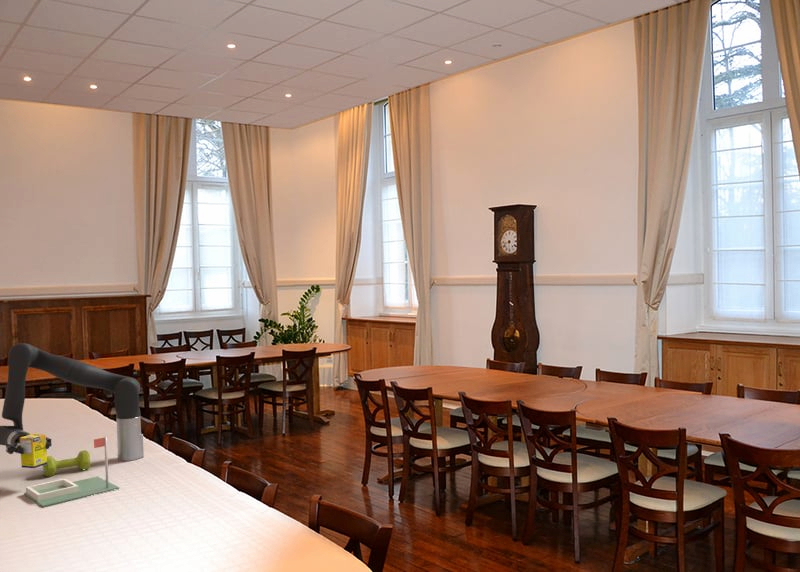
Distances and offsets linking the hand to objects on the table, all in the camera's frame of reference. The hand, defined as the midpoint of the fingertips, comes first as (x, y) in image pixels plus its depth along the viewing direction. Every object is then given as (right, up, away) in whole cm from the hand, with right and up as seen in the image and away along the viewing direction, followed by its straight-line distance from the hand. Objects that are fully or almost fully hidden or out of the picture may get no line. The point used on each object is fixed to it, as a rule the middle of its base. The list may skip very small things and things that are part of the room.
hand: (35, 448), depth 242 cm
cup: (+15, -14, -4) cm, 21 cm away
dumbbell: (+1, -14, +20) cm, 25 cm away
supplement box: (-1, -7, +2) cm, 7 cm away
